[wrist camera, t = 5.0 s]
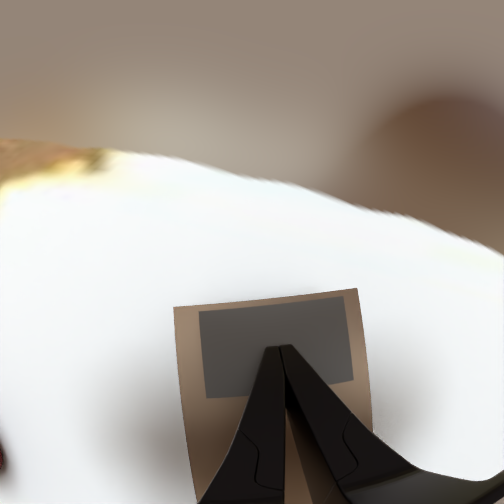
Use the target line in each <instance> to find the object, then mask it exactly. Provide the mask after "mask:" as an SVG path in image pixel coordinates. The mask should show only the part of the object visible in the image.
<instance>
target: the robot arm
mask: <svg viewBox="0 0 504 504" xmlns="http://www.w3.org/2000/svg"><path fill="white" fill-rule="evenodd" d="M286 412H287V416H288V420H289V423H290V427H291V430H292V434H293V437H294V441H295V444H296V448H297V451H298V455H299V458H300V462H301V465H302V469H303V472H304V475H305V479H306V482H307V486H308V489H309V493H310V496H311V499H312V503H313V504H504V470H503V471H501V472H500V473H498V474H497V475H495V476H494V477H492V478H490V479H488V480H484V481H470V480H464V479H459V478H454V477H450V476H445V475H441V474H436V473H432V472H428V471H425V470H422V469H420V468H418V467H416V466H414V465H412V464H411V463H410V462H408V461H407V460H406V459H404V458H403V457H402V456H400V455H399V454H398V453H397V452H395V451H394V450H393V449H392V448H390V447H389V446H388V445H387V444H385V443H384V442H383V441H382V440H381V439H379V438H378V437H377V436H376V435H375V434H374V433H372V432H371V431H370V430H369V429H368V428H367V427H366V426H365V425H364V424H363V423H362V422H361V421H360V420H359V419H358V417H357V416H356V415H355V414H354V413H352V411H351V410H350V409H349V408H348V407H347V406H346V404H345V403H344V402H343V401H342V400H341V399H340V398H339V397H338V396H337V395H336V393H335V392H334V391H333V390H332V389H331V388H330V387H329V386H328V384H327V383H326V382H325V381H324V380H323V379H322V378H321V377H320V375H319V374H318V373H317V372H316V371H315V370H314V369H313V368H312V366H311V365H310V364H309V363H308V362H307V361H306V360H305V359H304V357H303V356H302V355H301V354H300V353H299V352H298V351H297V349H296V348H295V347H294V346H293V345H292V344H286V345H280V346H279V347H278V346H269V347H266V348H265V350H264V353H263V356H262V359H261V362H260V365H259V368H258V371H257V374H256V377H255V380H254V383H253V386H252V389H251V391H250V394H249V397H248V400H247V403H246V406H245V408H244V411H243V414H242V417H241V419H240V422H239V425H238V428H237V429H238V430H236V433H235V435H234V438H233V441H232V443H231V445H230V448H229V450H228V452H227V454H226V456H225V458H224V460H223V462H222V464H221V466H220V468H219V469H218V471H217V473H216V474H215V476H214V478H213V479H212V481H211V483H210V484H209V486H208V488H207V489H206V491H205V493H204V494H203V496H202V497H201V499H200V500H199V502H198V503H197V504H284V503H285V438H286Z"/></svg>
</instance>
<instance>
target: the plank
mask: <svg viewBox="0 0 504 504" xmlns="http://www.w3.org/2000/svg"><path fill="white" fill-rule="evenodd" d="M173 308H174V325H175V340H176V352H177V364H178V375H179V385H180V394H181V403H182V411H183V419H184V426H185V434H186V440H187V447H188V454H189V460H190V466H191V472H192V478H193V483H194V488H195V494H196V499H197V503H198V502H199V500H200V499H201V497H202V496H203V494H204V493H205V491H206V489H207V488H208V486H209V484H210V483H211V481H212V479H213V478H214V476H215V474H216V473H217V471H218V469H219V468H220V466H221V464H222V462H223V460H224V458H225V456H226V454H227V452H228V450H229V448H230V445H231V443H232V441H233V438H234V435H235V433H236V430H238V429H237V428H238V425H239V422H240V419H241V417H242V414H243V411H244V408H245V406H246V403H247V400H248V397H249V394H250V391H251V389H252V386H253V383H254V380H255V377H256V374H257V371H258V368H259V365H260V362H261V359H262V356H263V353H264V350H265V348H266V347H269V346H278V347H279V346H280V345H286V344H292V345H293V346H294V347H295V348H296V349H297V351H298V352H299V353H300V354H301V355H302V356H303V357H304V359H305V360H306V361H307V362H308V363H309V364H310V365H311V366H312V368H313V369H314V370H315V371H316V372H317V373H318V374H319V375H320V377H321V378H322V379H323V380H324V381H325V382H326V383H327V384H328V386H329V387H330V388H331V389H332V390H333V391H334V392H335V393H336V395H337V396H338V397H339V398H340V399H341V400H342V401H343V402H344V403H345V404H346V406H347V407H348V408H349V409H350V410H351V411H352V413H354V414H355V415H356V416H357V417H358V419H359V420H360V421H361V422H362V423H363V424H364V425H365V426H366V427H367V428H368V429H369V430H370V431H371V432H372V433H373V428H372V410H371V396H370V384H369V374H368V364H367V355H366V346H365V338H364V330H363V323H362V316H361V309H360V303H359V296H358V290H357V288H353V289H345V290H338V291H330V292H322V293H314V294H306V295H298V296H289V297H280V298H271V299H261V300H251V301H241V302H230V303H219V304H207V305H194V306H180V307H173ZM284 504H313V503H312V499H311V496H310V493H309V489H308V486H307V482H306V479H305V475H304V472H303V469H302V465H301V462H300V458H299V455H298V451H297V448H296V444H295V441H294V437H293V434H292V430H291V427H290V423H289V420H288V416H287V412H286V438H285V503H284Z"/></svg>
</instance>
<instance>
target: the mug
mask: <svg viewBox="0 0 504 504" xmlns="http://www.w3.org/2000/svg"><path fill="white" fill-rule="evenodd" d="M2 462H3V458H2V453H1V450H0V468H1V466H2Z"/></svg>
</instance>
